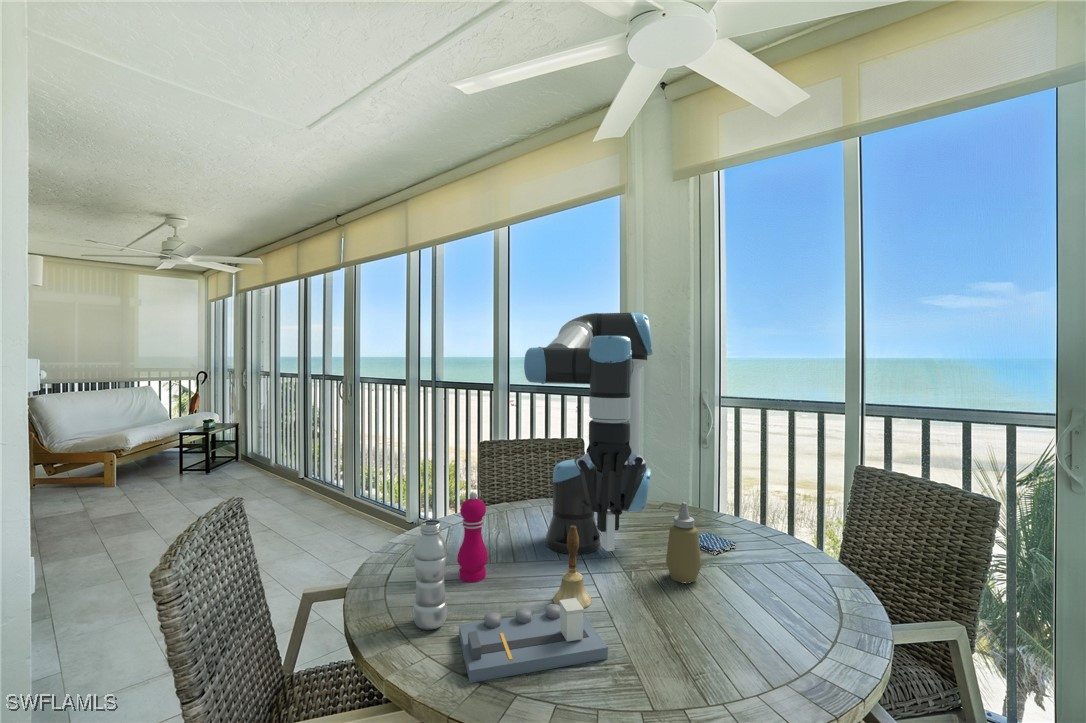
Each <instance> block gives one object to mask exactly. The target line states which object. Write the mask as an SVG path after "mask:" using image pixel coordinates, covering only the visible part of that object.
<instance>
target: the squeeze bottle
mask: <svg viewBox="0 0 1086 723" xmlns="http://www.w3.org/2000/svg"><path fill="white" fill-rule="evenodd" d="M688 508H689V506H688V502H685V501H684V502H681V505H680V509H679V512H678V515H675V516H674V517H673V525H671V526H670V527H669V533H668V539H667V540H668V541H667V542H668V543H667V549H666V557H665V562H666V566H667V569H668V572H669V576H670V578H671V579H672V580H673V579H674V580H673V581H675V580H676V581H675V582H677V581H678V582H677V583H680V582H686V583H685V584H690V583H689V582H693V581H695V580H696V581H697V578H698V577H699V574H700V571H701V568H702V560H701V559H702V558H701V549H700V545H699V535H700V534H699V530H698V529H697V527H695V519H694V518H693V517H692V516H690V513H689V509H688ZM696 581H695V582H696ZM693 583H694V582H693Z"/></svg>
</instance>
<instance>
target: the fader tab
mask: <svg viewBox="0 0 1086 723" xmlns="http://www.w3.org/2000/svg"><path fill="white" fill-rule="evenodd" d="M559 604H560V631H561V633H562V634H563V636H564V638H565V639H566V641H567V642H568V641H574V640H580V639H583V613H584V612H585V608H583V607H582V606H581V604H580V603H579V602H578V600H577V599H576V598H571V599H564V600H559ZM584 614H585V613H584Z"/></svg>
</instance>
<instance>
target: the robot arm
mask: <svg viewBox="0 0 1086 723" xmlns="http://www.w3.org/2000/svg"><path fill="white" fill-rule="evenodd" d="M649 320H650V319H649V317H648V316H647V315H646V314H645V313H641V312H640V313H639V312H607V313H605V312H602V313H598V312H594V313H593V312H592V313H587V314H584V315H581V316H578V317H575V318H573V319H571V320H569V321H567V322H566V323H565V324H564V325H562V326H561V328H560V330H558V335H557V337H555V338H554V339H553V340H552V341H551V342H550V343H549V344H548V345H546V346H544V347H543V346H538V347H529V348H528V349H527V350H526V352H525V354H524V360H523V361H524V363H523V369H524V370H523V371H524V376H525V379H526V380H527V381H528V382H529V383H533V384H541V385H545V384H547V385H549V384H550V385H551V384H557V385H558V384H559V385H560V384H562V385H563V384H564V385H566V384H567V385H569V384H570V385H571V384H572V385H589V396H588V399H589V401H588V402H589V405H588V408H589V409H588V411H589V412H588V413H589V415H588V416H589V418H590V419H591V420H589V422H588V446H587V448H586V450H585V451H586V452H585V454H583V455H581V457H575V458H573V459H567V460H564V461H563V460H562V461H561V462H558V463H556V464H555V466H554V467H553V474H552V475H553V476H552V480H551V482H552V516H551V520H550V523H549V526H548V529H547V532H546V535H545V536H546V537H545V540H546V541H545V545H546V546H547V547H548V548H549V549H551V550H552V551H554V552H558V553H560V554H561V553H563V554H568V555H569V552H568V548H567V536H568V533H569V530H570V526H576V529H577V532H578V536H579V547H578V551H577V555H583V554H589V553H593V552H595V551H597V550H599V549H600V547H602V548H603V550H605V551H606V552H613V551H615V549H616V546H615V543H616V542H615V541H616V538H615V537H616V533H615V532H616V531H619V529H620V516H621V515H622V514H623V512H627V513H630V512H632V513H633V512H636V513H637V512H638V513H639V512H643V511H644V510H645V509H646V508H647V503H648V496H649V489H650V482H651V475H652V470H651V468H649V467H646V466H647V465H646V464H647V462H646V460H645V459H644V457H642V455H641V433H642V432H641V430H642V429H641V428H642V426H641V424H642V421H641V418H642V417H641V416H642V369H643V367H644V366H645V365H646V364H647V362H648V356H649V357H650V356H652V355H653V354H654V352H653V345H652V344H653V343H652V334H651V326H650V321H649ZM595 513H596V514H597V516H596V517H595ZM596 519H597V520H596ZM600 533H601V535H600Z"/></svg>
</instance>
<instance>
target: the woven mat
mask: <svg viewBox="0 0 1086 723" xmlns="http://www.w3.org/2000/svg"><path fill="white" fill-rule="evenodd" d="M718 541H719V542H718ZM699 545H701V546H700V548H703V549H705V550H707V551H708V552H709V551H710V552H713V554H714V553H715V554H717V552H720V551H722V550H725V549H727V548H729V547H730V548H731V547H732V546H735V545H737V546H738V544H737V543H736V542H735V541H733V540H729V539H728V538H727V539H725V538H724V537H720V536H719V535H715V534H714V533H713V534H711V533H710V532H707V533H706V532H705V533H702V534H699ZM704 547H705V548H704ZM735 547H736V546H735ZM709 549H711V550H709ZM731 549H732V548H731ZM715 551H716V552H715ZM708 552H707V553H708ZM713 554H712V555H713Z"/></svg>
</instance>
